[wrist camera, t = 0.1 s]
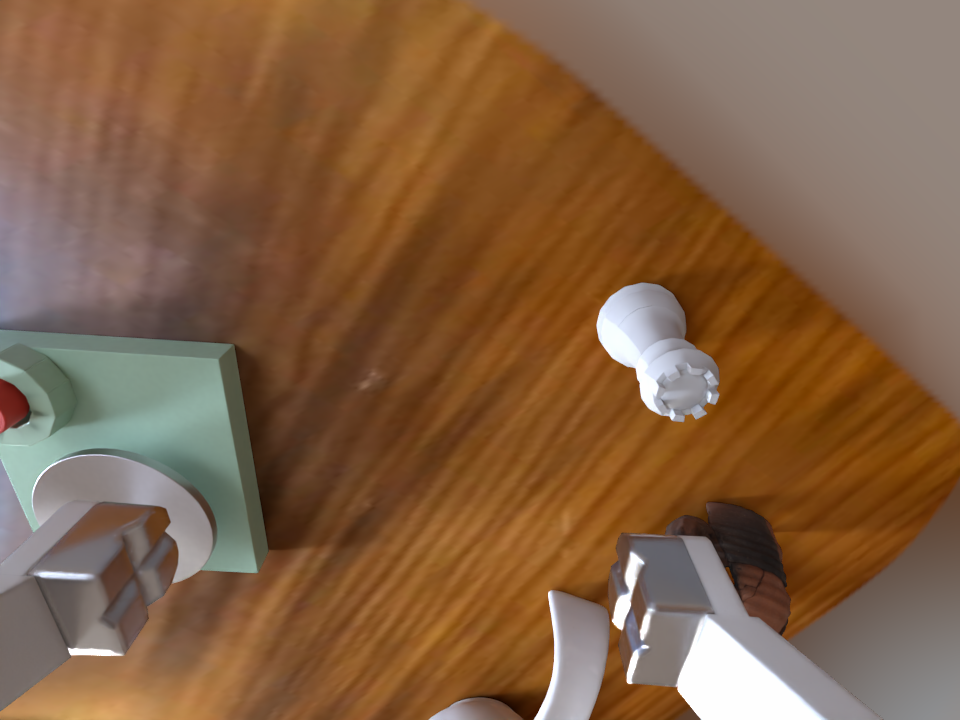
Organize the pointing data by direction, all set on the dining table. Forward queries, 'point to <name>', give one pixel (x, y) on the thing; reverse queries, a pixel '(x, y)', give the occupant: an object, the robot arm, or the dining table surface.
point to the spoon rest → (558, 666)
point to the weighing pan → (132, 497)
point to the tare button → (11, 405)
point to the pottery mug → (745, 558)
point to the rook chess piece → (658, 350)
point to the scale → (139, 421)
